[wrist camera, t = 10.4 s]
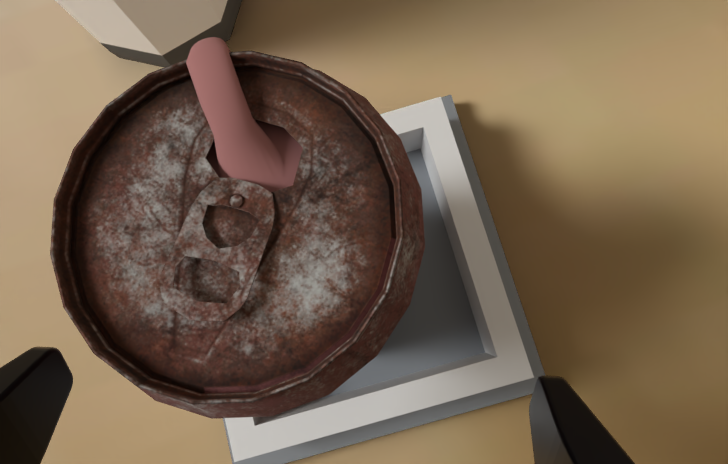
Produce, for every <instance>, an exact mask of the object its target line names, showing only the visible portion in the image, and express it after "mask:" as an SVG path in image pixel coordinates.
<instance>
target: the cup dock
mask: <svg viewBox="0 0 728 464" xmlns="http://www.w3.org/2000/svg"><path fill="white" fill-rule="evenodd" d="M380 115H381V117H382V118H383V119H384V120H385V121H386V122H387V123H388V125H389V126H390V127H391V128H392V129H393V130H394V132H395V133H396V134H397V135H398V136H399V137H400V139H401V141H402V143H403V146H404V148H405V151H406V153H407V156H408V158H409V161H410V163H411V165H412V168H413V170H414V173H415V175H416V178H417V180H418V183H419V185H420V187H421V191H422V206H423V222H424V238H425V249H424V253H423V257H422V261H421V265H420V268H419V272H418V276H417V280H416V284H415V288H414V291H413V295H412V299H411V303H410V305H409V307H408V308H407V310H406V312H405V313H404V315H403V316H402V318H401V319H400V321H399V322H398V324H397V326H396V327H395V329H394V330H393V332H392V333H391V335H390V336H389V338H388V340H387V341H386V343H385V344H384V346H383V347H382V349H381V350H380V352H379V354H378V355H377V356H376V357H375V358H374V359H373V360H371V361H370V362H369V363H368V364H366V365H365V366H364V367H363V368H361V369H360V370H359V371H358V372H357V373H355V374H354V375H353V376H352V377H350V378H349V379H348V380H347V381H345V382H344V383H343V384H342V385H341V386H339V387H338V388H337V389H336V390H334V391H333V392H332V393H331V394H329V395H327V396H325V397H322V398H319V399H317V400H314V401H311V402H309V403H306V404H303V405H301V406H298V407H296V408H293V409H290V410H288V411H285V412H282V413H280V414H277V415H274V416H271V417H241V418H223V421H224V426H225V430H226V435H227V440H228V444H229V449H230V453H231V458H232V463H233V464H285V463H288V462H292V461H295V460H299V459H302V458H306V457H310V456H313V455H317V454H320V453H324V452H327V451H331V450H334V449H338V448H341V447H345V446H349V445H352V444H356V443H359V442H363V441H366V440H370V439H373V438H377V437H380V436H384V435H387V434H391V433H395V432H398V431H402V430H405V429H409V428H412V427H416V426H419V425H423V424H426V423H430V422H434V421H437V420H441V419H444V418H448V417H451V416H455V415H458V414H462V413H465V412H469V411H472V410H476V409H480V408H483V407H487V406H490V405H494V404H497V403H501V402H504V401H508V400H511V399H515V398H519V397H522V396H526V395H529V394H533V391H534V387H535V384H536V380H537V378H538V377H539V376H542V375H544V376H545V373H544V370H543V367H542V364H541V361H540V358H539V355H538V352H537V349H536V346H535V343H534V340H533V337H532V334H531V331H530V328H529V325H528V322H527V319H526V316H525V313H524V310H523V307H522V304H521V301H520V298H519V295H518V292H517V289H516V287H515V284H514V281H513V278H512V275H511V272H510V269H509V266H508V263H507V260H506V257H505V254H504V251H503V248H502V245H501V242H500V239H499V236H498V233H497V230H496V227H495V224H494V221H493V218H492V215H491V212H490V209H489V206H488V203H487V200H486V197H485V194H484V191H483V188H482V186H481V183H480V180H479V177H478V174H477V171H476V168H475V165H474V162H473V159H472V156H471V153H470V150H469V147H468V144H467V141H466V138H465V135H464V132H463V129H462V126H461V123H460V120H459V117H458V114H457V111H456V108H455V105H454V102H453V99H452V96H451V95H448V96H444V97H438V98H434V99H431V100H427V101H424V102H420V103H417V104H414V105H410V106H407V107H403V108H400V109H396V110H393V111H390V112H386V113H383V114H380Z"/></svg>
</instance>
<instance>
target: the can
mask: <svg viewBox="0 0 728 464" xmlns="http://www.w3.org/2000/svg"><path fill="white" fill-rule="evenodd" d="M424 249H425V238H424V222H423V206H422V191H421V187H420V185H419V183H418V180H417V178H416V175H415V173H414V170H413V168H412V165H411V163H410V161H409V158H408V156H407V153H406V151H405V148H404V146H403V143H402V141H401V139H400V137H399V136H398V135H397V134H396V133H395V132H394V130H393V129H392V128H391V127H390V126H389V125H388V123H387V122H386V121H385V120H384V119H383V118H382V117H381V115H380V114H379V113H378V112H377V111H376V110H375V108H374V107H373V106H372V105H371V104H370V103H369V101H368V100H367V99H366V98H365V97H363V96H361V95H360V94H358V93H356V92H355V91H353V90H351V89H350V88H348V87H346V86H345V85H343V84H341V83H340V82H338V81H336V80H335V79H333V78H331V77H330V76H328V75H326V74H325V73H323V72H321V71H319V70H315V69H312V68H310V67H309V66H307V65H305V64H304V63H302V62H298V61H294V60H289V59H285V58H280V57H276V56H272V55H267V54H263V53H259V52H254V51H242V52H230V50H229V48H228V47H227V45H226V43H225V42H224V40H222V39H221V38H217V37H209V38H205V39H202V40H200V41H198V42H197V43H195V44H194V45H193V46H192V48H191V50H190V53H189V55H188V58H187V59H186V60H184V61H181V62H178V63H176V64H173V65H170V66H168V67H165V68H162V69H160V70H157V71H155V72H152V73H149V74H148V75H147V76H145V77H144V78H143V79H141V80H140V81H139V82H137V83H136V84H135V85H133V86H132V87H131V88H129V89H128V90H127V91H125V92H124V93H123V94H121V95H120V96H118V97H117V98H116V99H114V100H113V101H112V102H110V103H109V104H108V105H106V107H105V108H104V109H103V111H102V112H101V113H100V115H99V116H98V117H97V118H96V120H95V121H94V122H93V124H92V125H91V126H90V128H89V129H88V130H87V132H86V133H85V134H84V136H83V137H82V138H81V140H80V141H79V142H78V143H77V145H76V146H75V147H74V149H73V151H72V154H71V156H70V159H69V162H68V164H67V167H66V169H65V172H64V175H63V177H62V180H61V183H60V185H59V188H58V190H57V193H56V196H55V198H54V206H53V221H52V235H51V250H50V255H51V259H52V263H53V267H54V271H55V275H56V279H57V283H58V287H59V291H60V295H61V299H62V303H63V307H64V309H65V310H66V312H67V313H68V315H69V316H70V318H71V320H72V321H73V323H74V324H75V326H76V327H77V329H78V330H79V332H80V333H81V335H82V336H83V338H84V339H85V341H86V343H87V344H88V346H89V347H90V349H91V350H92V352H93V353H94V354H95V355H96V356H98V357H99V358H100V359H102V360H103V361H104V362H106V363H107V364H108V365H109V366H111V367H112V368H113V369H115V370H116V371H117V372H119V373H120V374H121V375H123V376H124V377H125V378H127V379H128V380H129V381H130V382H132V383H133V384H134V385H136V386H137V387H138V388H140V389H141V390H142V391H144V392H145V393H146V394H148V395H149V396H150V397H152V398H153V399H154V400H156V401H158V402H161V403H164V404H168V405H171V406H174V407H177V408H180V409H183V410H187V411H190V412H193V413H196V414H199V415H202V416H206V417H209V418H241V417H271V416H274V415H277V414H280V413H282V412H285V411H288V410H290V409H293V408H296V407H298V406H301V405H303V404H306V403H309V402H311V401H314V400H317V399H319V398H322V397H325V396H327V395H329V394H331V393H332V392H333V391H334V390H336V389H337V388H338V387H339V386H341V385H342V384H343V383H344V382H345V381H347V380H348V379H349V378H350V377H352V376H353V375H354V374H355V373H357V372H358V371H359V370H360V369H361V368H363V367H364V366H365V365H366V364H368V363H369V362H370V361H371V360H373V359H374V358H375V357H376V356H377V355H378V354H379V352H380V350H381V349H382V347H383V346H384V344H385V343H386V341H387V340H388V338H389V336H390V335H391V333H392V332H393V330H394V329H395V327H396V326H397V324H398V322H399V321H400V319H401V318H402V316H403V315H404V313H405V312H406V310H407V308H408V307H409V305H410V303H411V299H412V295H413V291H414V288H415V284H416V280H417V276H418V272H419V268H420V265H421V261H422V257H423V253H424Z"/></svg>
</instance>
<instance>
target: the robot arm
mask: <svg viewBox="0 0 728 464" xmlns="http://www.w3.org/2000/svg"><path fill="white" fill-rule="evenodd" d="M72 384H73V376H72V373H71V371H70V369H69V367H68V365H67V363H66V362H65V360H64V358H63V356H62V354H61V352H60V351H59V350H58V349H57V348H53V347H34V348H31V349H30V350H28V351H26V352H25V353H23V354H21V355H20V356H18V357H17V358H15V359H14V360H12V361H10V362H9V363H7V364H6V365H4V366H3V367H1V368H0V464H40V463H41V461H42V459H43V456H44V454H45V452H46V450H47V447H48V445H49V442H50V440H51V437H52V435H53V432H54V430H55V427H56V425H57V423H58V420H59V418H60V415H61V413H62V410H63V408H64V405H65V403H66V400H67V398H68V396H69V393H70V391H71V388H72ZM529 416H530V426H531V434H532V443H533V452H534V461H535V464H635V463H634V462H633V461H632V460H631V458H630V457H629V456H628V455H627V454H626V452H625V451H624V450H623V449H622V447H621V446H620V445H619V444H618V443H617V441H616V440H615V439H614V438H613V437H612V435H611V434H610V433H609V432H608V431H607V429H606V428H605V427H604V426H603V425H602V423H601V422H600V421H599V420H598V419H597V417H596V416H595V415H594V414H593V413H592V411H591V410H590V409H589V408H588V407H587V405H586V404H585V403H584V402H583V401H582V399H581V398H580V397H579V396H578V395H577V393H576V392H575V391H574V390H573V389H572V387H571V386H570V385H569V384H568V383H567V381H566V380H565V379H563V378H562V377H559V376H544V375H542V376H539V377H538V378H537V380H536V384H535V387H534V391H533V394H532V398H531V401H530V407H529Z"/></svg>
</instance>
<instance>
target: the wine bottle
mask: <svg viewBox="0 0 728 464" xmlns="http://www.w3.org/2000/svg"><path fill="white" fill-rule="evenodd" d="M55 1H56V2H57V3H58V4H59V5H60V6H61V7H62V8H64V9H65V10H66V11H67V12H68V13H69V14H70V15H71V16H72V17H73V18H74V19H75V20H76V21H77V22H79V23H80V24H81V25H82V26H83V27H84V28H85V29H86V30H87V31H88V32H89V33H90V34H91V35H92V36H94V37H95V38H96V39H97V40H98V41H99V42H100V43H101V44H102V45H103V46H104V47H106V48H107V49H108V50H109V51H110V52H112V53H113V54H115V55H116V56H118V57H119V58H123V59H128V60H133V61H137V62H142V63H147V64H151V65H156V66H161V67H168V66H170V65H173V64H176V63H178V62H181V61H184V60H186V59H187V58H188V55H189V53H190V50H191V48H192V46H193V45H194V44H195V43H197V42H198V41H200V40H202V39H205V38H209V37H217V38H221V39H222V40H224V42H225V41H227V40H229V39H230V36H231V33H232V30H233V27H234V24H235V21H236V17H237V14H238V11H239V8H240V5H241V2H242V0H55Z"/></svg>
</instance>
